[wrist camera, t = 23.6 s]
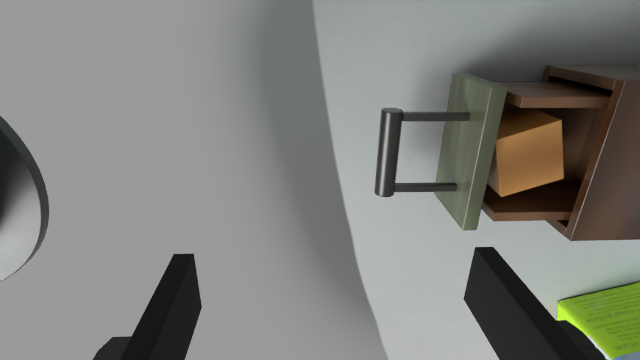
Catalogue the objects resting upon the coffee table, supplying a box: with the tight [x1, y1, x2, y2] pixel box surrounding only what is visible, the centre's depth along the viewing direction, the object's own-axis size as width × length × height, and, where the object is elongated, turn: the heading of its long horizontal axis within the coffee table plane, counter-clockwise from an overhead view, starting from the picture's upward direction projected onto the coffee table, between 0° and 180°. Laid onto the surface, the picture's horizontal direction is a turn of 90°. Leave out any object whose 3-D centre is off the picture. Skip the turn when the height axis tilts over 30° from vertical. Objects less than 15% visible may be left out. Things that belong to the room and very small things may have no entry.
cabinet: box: [542, 65, 640, 241], centre depth 31 cm, size 15×13×9 cm
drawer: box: [375, 73, 613, 230], centre depth 30 cm, size 20×11×7 cm, turn 89°
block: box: [487, 107, 564, 197], centre depth 30 cm, size 5×5×5 cm
